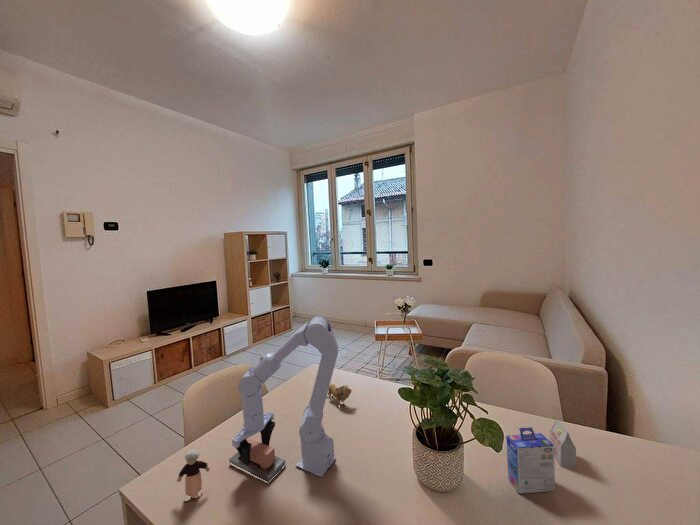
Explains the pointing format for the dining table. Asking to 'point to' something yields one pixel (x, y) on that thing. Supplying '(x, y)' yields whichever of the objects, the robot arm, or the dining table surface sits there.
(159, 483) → the dining table surface
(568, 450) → the white gable-top carton
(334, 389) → the lion figurine
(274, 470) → the slotted metal plate
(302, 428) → the robot arm
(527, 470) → the ink cartridge box
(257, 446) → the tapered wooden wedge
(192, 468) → the grandmother figurine
